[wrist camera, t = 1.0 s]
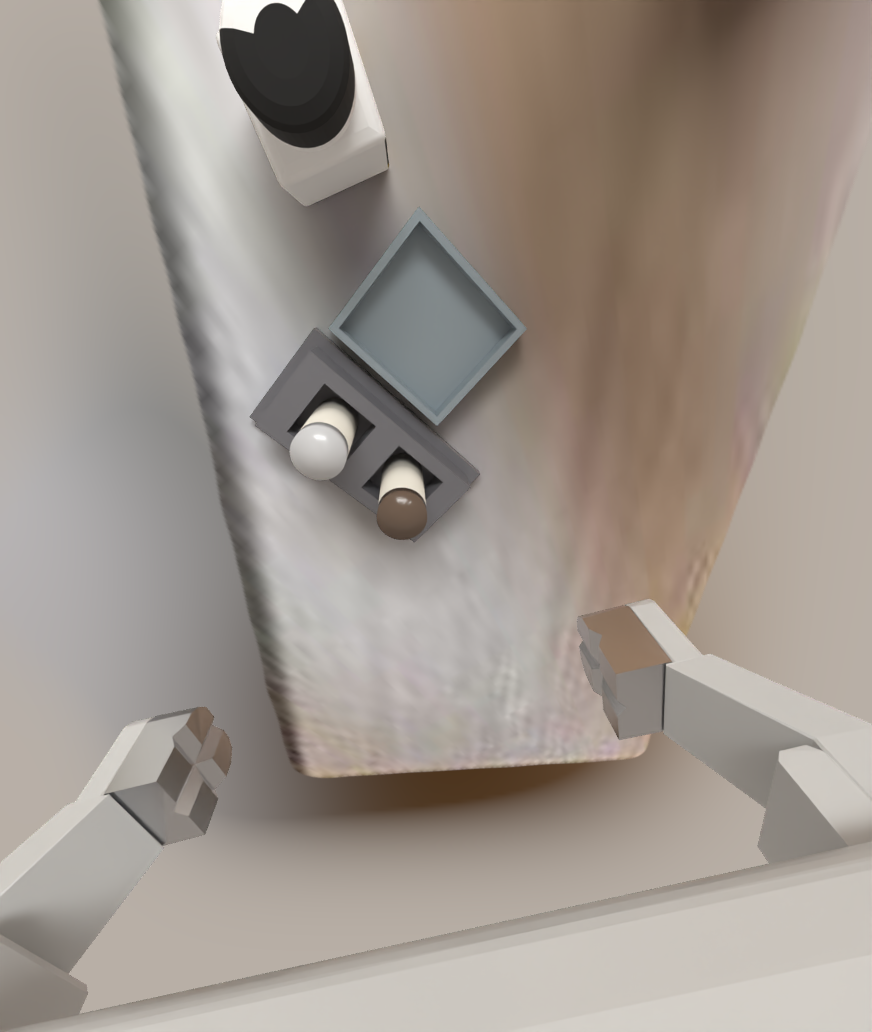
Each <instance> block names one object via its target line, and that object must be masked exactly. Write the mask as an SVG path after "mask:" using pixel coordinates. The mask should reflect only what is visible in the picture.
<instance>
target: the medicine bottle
mask: <svg viewBox="0 0 872 1032" xmlns="http://www.w3.org/2000/svg"><path fill="white" fill-rule="evenodd" d="M216 39H217V44H218V46H219V48H220V51H221V53H222V55H223V59H224V62H225V66H226V69H227V72H228V74H229V77H230V79H231V81H232V83H233V85H234V87H235V89H236V91H237V92H238V94H239V96H240V97H241V99H242V101H243V103H244V105H245V108H246V110H247V112H248V114H249V117H250V119H251V121H252V123H253V126H254V128H255V130H256V133H257V135H258V137H259V139H260V142H261V144H262V146H263V149H264V151H265V153H266V155H267V158H268V160H269V162H270V164H271V167H272V169H273V171H274V174H275V176H276V178H277V180H278V183H279V184H280V186H281V187H282V188H284V189H285V190H286V191H287V192H288V193H289V194H291V195H292V196H293V197H294V198H295V199H296V200H297V201H299V202H300V203H301V204H302V205H304V206H310V205H312V204H314V203H316V202H318V201H320V200H323V199H325V198H327V197H329V196H331V195H333V194H336V193H338V192H340V191H342V190H344V189H346V188H349V187H351V186H353V185H355V184H357V183H359V182H362V181H364V180H366V179H368V178H370V177H373V176H375V175H377V174H379V173H381V172H383V171H386V170H387V169H388V167H389V160H388V152H387V143H386V135H385V130H384V127H383V124H382V121H381V118H380V115H379V112H378V109H377V106H376V102H375V99H374V96H373V93H372V90H371V87H370V84H369V81H368V78H367V75H366V72H365V69H364V65H363V62H362V59H361V56H360V53H359V50H358V47H357V44H356V41H355V38H354V35H353V32H352V28H351V25H350V22H349V19H348V16H347V13H346V10H345V7H344V4H343V1H342V0H223V1H222V5H221V12H220V23H219V32H218V33H217V35H216Z"/></svg>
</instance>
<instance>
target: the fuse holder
mask: <svg viewBox="0 0 872 1032" xmlns="http://www.w3.org/2000/svg"><path fill="white" fill-rule="evenodd" d="M329 398H340V399H343V400H345V401H346V402H347V403H348V404H350V405H351V406H352V407H353V408H354V409H355V410H356V412H357V415H358V420H359V422H358V428H357V431H356V433H355V436H354V439H353V442H352V445H351V448H350V451H349V454H348V457H347V460H346V463H345V466H344V468H343V469H342V471H341V472H340V473H339V474H338V475H337V476H335V477H333V478H331V479H329V480H330V481H331V482H333V483H334V484H335V485H337V486H338V487H340V488H341V489H342V490H344V491H345V492H346V493H348V494H349V495H350V496H352V497H353V498H355V499H356V500H357V501H359V502H360V503H361V504H363V505H364V506H365V507H367V508H368V509H370V510H371V511H372V512H374V513H375V514H376V515H377V511H378V503H379V494H380V486H381V478H382V470H383V466H384V464H385V462H386V461H387V460H388V459H389V458H390V457H392V456H393V455H396V454H408V455H411V456H412V457H413V458H415V459H416V460H417V461H418V462H419V463H420V464H421V466H422V471H423V480H424V490H425V500H426V509H427V523H426V526H425V528H424V529H423V531H422V532H421V533H420V534H418V535H417V536H415V537H413V538H410V540H412V541H413V542H415V541H416V540H417V539H418V538H419V537H420V536H421V535H422V534H423V533H424V532H425V531H427V530H428V529H429V528H430V527H431V526H432V525H433V524H434V523H435V522H436V521H437V520H438V519H439V518H440V517H441V516H442V515H443V514H444V513H445V512H446V511H447V510H448V509H449V508H450V507H451V506H452V505H453V504H454V503H455V502H456V501H457V500H458V499H459V498H460V497H461V496H462V495H463V494H464V493H465V492H466V491H467V490H468V489H469V488H470V484H471V483H472V482H473V481H474V480H475V479H476V478H477V477H478V476H479V475H480V473H479V471H478V470H477V469H476V468H475V467H474V466H473V465H471V464H470V463H469V462H468V461H467V460H466V459H465V458H464V457H462V456H461V455H460V454H459V453H458V452H457V451H456V450H454V449H453V448H452V447H451V446H450V445H449V444H448V443H447V442H445V441H444V440H443V439H442V438H441V437H440V436H439V435H438V434H436V433H435V432H434V431H433V430H432V429H431V428H430V427H428V426H427V425H426V424H425V423H424V422H423V421H422V420H421V419H419V418H418V417H417V416H416V415H415V414H414V413H413V412H411V411H410V410H409V409H408V408H407V407H406V406H405V405H404V404H402V403H401V402H400V401H399V400H398V399H397V398H396V397H395V396H393V395H392V394H391V393H390V392H389V391H388V390H387V389H385V388H384V387H383V386H382V385H381V384H380V383H379V382H378V381H376V380H375V379H374V378H373V377H372V376H371V375H370V374H368V373H367V372H366V371H365V370H364V369H363V368H362V367H361V366H359V365H358V364H357V363H356V362H355V361H354V360H353V359H351V358H350V357H349V356H348V355H347V354H346V353H345V352H344V351H342V350H341V349H340V348H339V347H338V346H337V345H336V344H335V343H333V342H332V341H331V340H330V339H329V338H328V337H327V336H325V335H324V334H323V333H322V332H321V331H320V330H319V329H318V328H314V329H313V330H312V332H311V333H310V334H309V336H308V337H307V339H306V340H305V341H304V343H303V344H302V345H301V347H300V348H299V350H298V351H297V352H296V354H295V355H294V356H293V358H292V359H291V360H290V362H289V363H288V365H287V366H286V367H285V369H284V370H283V371H282V373H281V374H280V376H279V377H278V378H277V380H276V381H275V382H274V384H273V385H272V387H271V388H270V389H269V391H268V392H267V393H266V395H265V396H264V398H263V399H262V400H261V402H260V403H259V404H258V406H257V407H256V409H255V410H254V411H253V413H252V414H251V415H250V418H252V419H253V420H254V421H256V422H257V423H256V424H255V426H256V427H258V428H259V429H261V430H262V431H263V432H265V433H266V434H267V435H269V436H270V437H271V438H273V439H274V440H276V441H277V442H278V443H280V444H281V445H282V446H284V447H285V448H286V449H288V450H289V451H290V445H291V442H292V440H293V439H294V437H295V436H296V435H297V433H298V432H299V431H300V429H301V428H302V427H303V425H304V424H305V423H306V421H307V420H308V419H309V417H310V416H311V415H312V413H313V412H314V411H315V409H316V408H317V407H318V405H319V404H320V403H321V402H323V401H324V400H326V399H329Z"/></svg>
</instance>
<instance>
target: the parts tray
mask: <svg viewBox="0 0 872 1032" xmlns="http://www.w3.org/2000/svg"><path fill="white" fill-rule="evenodd" d="M328 329H329V330H330V331H331V332H332V333H333V334H335V335H336V336H337V337H338V338H339V339H340V340H341V341H342V342H344V343H345V344H346V345H347V346H348V347H349V348H350V349H351V350H352V351H354V352H355V353H356V354H357V355H358V356H359V357H360V358H361V359H363V360H364V361H365V362H366V363H367V364H368V365H369V366H370V367H371V368H373V369H374V370H375V371H376V372H377V373H378V374H379V375H380V376H382V377H383V378H384V379H385V380H386V381H387V382H388V383H389V384H391V385H392V386H393V387H394V388H395V389H396V390H397V391H398V392H399V393H401V394H402V395H403V396H404V397H405V398H406V399H407V400H408V401H410V402H411V403H412V404H413V405H414V406H415V407H416V408H417V409H419V410H420V411H421V412H422V413H423V414H424V415H425V416H426V417H427V418H429V419H430V420H431V421H432V422H433V423H434V424H435V425H436V426H438V425H439V424H440V422H441V421H442V420H443V419H444V418H445V417H446V416H447V415H448V414H449V413H450V412H451V411H452V409H453V408H454V407H455V406H456V405H457V404H458V403H459V402H460V401H461V400H462V399H463V398H464V396H465V395H466V394H467V393H468V392H469V391H470V390H471V389H472V388H473V387H474V386H475V385H476V383H477V382H478V381H479V380H480V379H481V378H482V377H483V376H484V375H485V374H486V373H487V372H488V371H489V369H490V368H491V367H492V366H493V365H494V364H495V363H496V362H497V361H498V360H499V359H500V358H501V356H502V355H503V354H504V353H505V352H506V351H507V350H508V349H509V348H510V347H511V346H512V345H513V343H514V342H515V341H516V340H517V339H518V338H519V337H520V336H521V335H522V334H523V333H524V332H525V330H526V329H527V328H526V327H525V326H524V325H523V324H522V322H521V321H520V320H519V319H518V318H517V317H516V316H515V314H514V313H513V312H512V311H511V310H510V309H509V308H508V307H507V305H506V304H505V303H504V302H503V301H502V300H501V299H500V298H499V296H498V295H497V294H496V293H495V292H494V291H493V290H492V288H491V287H490V286H489V285H488V284H487V283H486V282H485V281H484V279H483V278H482V277H481V276H480V275H479V274H478V273H477V271H476V270H475V269H474V268H473V267H472V266H471V265H470V264H469V262H468V261H467V260H466V259H465V258H464V257H463V256H462V255H461V253H460V252H459V251H458V250H457V249H456V248H455V247H454V245H453V244H452V243H451V242H450V241H449V240H448V239H447V238H446V236H445V235H444V234H443V233H442V232H441V231H440V230H439V229H438V227H437V226H436V225H435V224H434V223H433V222H432V221H431V219H430V218H429V217H428V216H427V215H426V214H425V213H424V212H423V210H422V209H421V208H420V207H418V208H417V210H416V211H415V212H414V214H413V215H412V216H411V218H410V219H409V221H408V222H407V223H406V225H405V226H404V227H403V229H402V230H401V231H400V233H399V234H398V235H397V237H396V238H395V239H394V241H393V242H392V243H391V245H390V246H389V247H388V249H387V250H386V252H385V253H384V254H383V256H382V257H381V258H380V260H379V261H378V262H377V264H376V265H375V266H374V268H373V269H372V270H371V272H370V273H369V274H368V276H367V277H366V278H365V280H364V281H363V283H362V284H361V285H360V287H359V288H358V289H357V291H356V292H355V293H354V295H353V296H352V297H351V299H350V300H349V301H348V303H347V304H346V305H345V307H344V308H343V310H342V311H341V312H340V314H339V315H338V316H337V318H336V319H335V320H334V322H333V323H332V324H331V326H330V327H329V328H328Z"/></svg>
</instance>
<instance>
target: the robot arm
mask: <svg viewBox="0 0 872 1032" xmlns="http://www.w3.org/2000/svg"><path fill="white" fill-rule="evenodd" d="M577 628H578V632H579V634H580V636H581V637H582V639H583V641H582V643H581V644H580V646H579V648H580V655H581V660H582V664H583V668H584V671H585V674H586V676H587V678H588V681H589V683H590V685H591V687H592V689H593V691H594V692H596V693H597V694H599V695H601V696H602V700H603V710H604V712H605V714H606V716H607V718H608V720H609V722H610V724H611V726H612V727H613V729H614V731H615V733H616V735H617V737H618V739H619V740H622V739H627V738H632V737H637V736H642V735H647V734H652V733H657V732H662V731H664V734H665V735H666V736H668V737H669V738H670V739H672V740H673V741H674V742H676V743H677V744H679V745H680V746H681V747H683V748H684V749H685V750H687V751H688V752H689V753H691V754H692V755H693V756H695V757H696V758H697V759H699V760H700V761H702V762H703V763H705V764H706V765H707V766H708V767H710V768H711V769H712V770H714V771H715V772H717V773H718V774H719V775H721V776H722V777H723V778H725V779H726V780H727V781H729V782H730V783H732V784H733V785H735V786H736V787H737V788H738V789H740V790H741V791H743V792H744V793H745V794H747V795H748V796H749V797H751V798H752V799H754V800H755V801H756V802H758V803H759V804H761V805H762V806H763V807H764V808H766V811H765V815H764V820H763V824H762V829H761V833H760V838H759V842H758V848H759V849H760V851H761V852H762V854H763V855H764V857H765V858H766V860H767V861H768V863H769V864H765V865H761V866H756V867H751V868H747V869H742V870H738V871H733V872H728V873H724V874H720V875H715V876H710V877H706V878H701V879H696V880H692V881H687V882H683V883H678V884H674V885H669V886H664V887H660V888H655V889H650V890H646V891H642V892H637V893H632V894H627V895H623V896H618V897H614V898H609V899H604V900H601V901H595V902H591V903H587V904H582V905H577V906H573V907H568V908H563V909H558V910H554V911H550V912H545V913H540V914H536V915H531V916H526V917H522V918H517V919H513V920H508V921H503V922H499V923H495V924H490V925H485V926H480V927H476V928H472V929H467V930H462V931H458V932H453V933H449V934H444V935H439V936H435V937H431V938H425V939H421V940H416V941H412V942H407V943H402V944H398V945H393V946H389V947H384V948H379V949H375V950H370V951H366V952H361V953H356V954H352V955H347V956H343V957H338V958H334V959H329V960H324V961H320V962H316V963H310V964H306V965H301V966H297V967H292V968H287V969H283V970H278V971H274V972H269V973H265V974H260V975H255V976H251V977H246V978H242V979H237V980H232V981H228V982H223V983H219V984H214V985H210V986H205V987H200V988H196V989H191V990H187V991H182V992H178V993H173V994H168V995H164V996H159V997H155V998H150V999H145V1000H141V1001H136V1002H132V1003H127V1004H123V1005H118V1006H113V1007H109V1008H104V1009H100V1010H96V1011H90V1012H86V1013H82V1014H79V1013H80V1010H81V1008H82V1006H83V1004H84V1001H85V999H86V997H87V995H88V991H87V985H86V984H84V983H83V982H81V981H79V980H78V979H76V978H74V977H72V976H71V975H69V972H70V971H71V970H72V968H73V967H74V966H75V964H76V963H77V962H78V960H79V959H80V958H81V956H82V955H83V954H84V952H85V951H86V950H87V949H88V947H89V946H90V945H91V943H92V942H93V941H94V939H95V938H96V937H97V935H98V934H99V933H100V931H101V930H102V929H103V928H104V926H105V925H106V924H107V922H108V921H109V920H110V918H111V917H112V916H113V914H114V913H115V912H116V910H117V909H118V908H119V906H120V905H121V904H122V903H123V901H124V900H125V899H126V897H127V896H128V895H129V893H130V892H131V891H132V890H133V888H134V887H135V886H136V884H137V883H138V882H139V880H140V879H141V877H142V876H143V875H144V874H145V873H146V871H147V870H148V869H149V867H150V866H151V865H152V863H153V862H154V861H155V859H156V858H157V857H158V855H159V854H160V853H161V851H162V850H163V849H164V847H163V846H164V845H168V844H172V843H176V842H179V841H183V840H187V839H191V838H195V837H198V836H202V835H205V834H206V831H207V828H208V826H209V823H210V820H211V817H212V814H213V812H214V809H215V807H216V804H217V801H218V797H217V794H216V790H215V789H216V788H217V787H218V786H219V785H220V783H221V782H222V781H223V780H224V779H225V778H226V776H227V773H228V770H229V768H230V765H231V756H232V746H231V743H230V740H229V737H228V736H227V734H226V733H225V731H224V730H222V729H220V728H218V727H215V726H213V725H212V723H213V720H214V716H213V715H212V714H211V712H210V711H209V710H208V709H207V708H206V707H196V708H192V709H187V710H183V711H177V712H173V713H168V714H164V715H159V716H155V717H151V718H147V719H142V720H137V721H133V722H132V723H130V724H129V725H127V726H126V727H124V729H123V730H122V732H121V733H120V735H119V736H118V738H117V739H116V741H115V742H114V744H113V745H112V747H111V748H110V750H109V751H108V753H107V754H106V756H105V758H104V759H103V761H102V762H101V764H100V765H99V767H98V768H97V770H96V771H95V773H94V774H93V776H92V777H91V779H90V781H89V782H88V783H87V785H86V786H85V788H84V789H83V791H82V793H81V794H80V796H79V797H78V799H77V800H76V802H73V803H69V804H67V805H66V806H65V807H64V808H62V809H61V810H60V811H59V812H58V813H57V814H56V815H54V816H53V817H52V818H51V819H50V820H49V821H47V822H46V823H45V824H44V825H43V826H42V827H41V828H39V829H38V830H37V831H36V832H35V833H34V834H33V835H31V836H30V837H29V838H28V839H27V840H26V841H25V842H23V843H22V844H21V845H20V846H19V847H18V848H17V849H15V850H14V851H13V852H12V853H11V854H10V855H9V856H7V857H6V858H5V859H4V860H3V861H2V862H1V863H0V1032H872V724H870V723H868V722H866V721H864V720H862V719H859V718H857V717H854V716H852V715H850V714H848V713H845V712H843V711H841V710H839V709H836V708H834V707H832V706H829V705H827V704H825V703H823V702H820V701H818V700H816V699H813V698H811V697H809V696H806V695H804V694H802V693H800V692H797V691H795V690H792V689H790V688H788V687H786V686H783V685H781V684H779V683H777V682H774V681H772V680H770V679H767V678H765V677H763V676H761V675H758V674H756V673H754V672H751V671H749V670H747V669H744V668H742V667H740V666H738V665H735V664H733V663H731V662H728V661H726V660H724V659H721V658H719V657H717V656H715V655H712V654H708V655H702V654H701V653H700V652H699V651H698V650H697V648H696V647H695V646H694V645H693V644H692V643H691V642H690V640H689V639H688V638H687V637H686V636H685V635H684V634H683V633H682V632H681V630H680V629H679V628H678V627H677V626H676V625H675V624H674V623H673V621H672V620H671V619H670V618H669V617H668V616H667V615H666V614H665V613H664V611H663V610H662V609H661V608H660V607H659V606H658V605H657V604H656V603H655V601H653V600H651V599H645V600H641V601H637V602H633V603H629V604H626V605H625V606H624V605H622V606H618V607H614V608H610V609H606V610H602V611H598V612H594V613H590V614H586V615H582V616H578V619H577Z"/></svg>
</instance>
